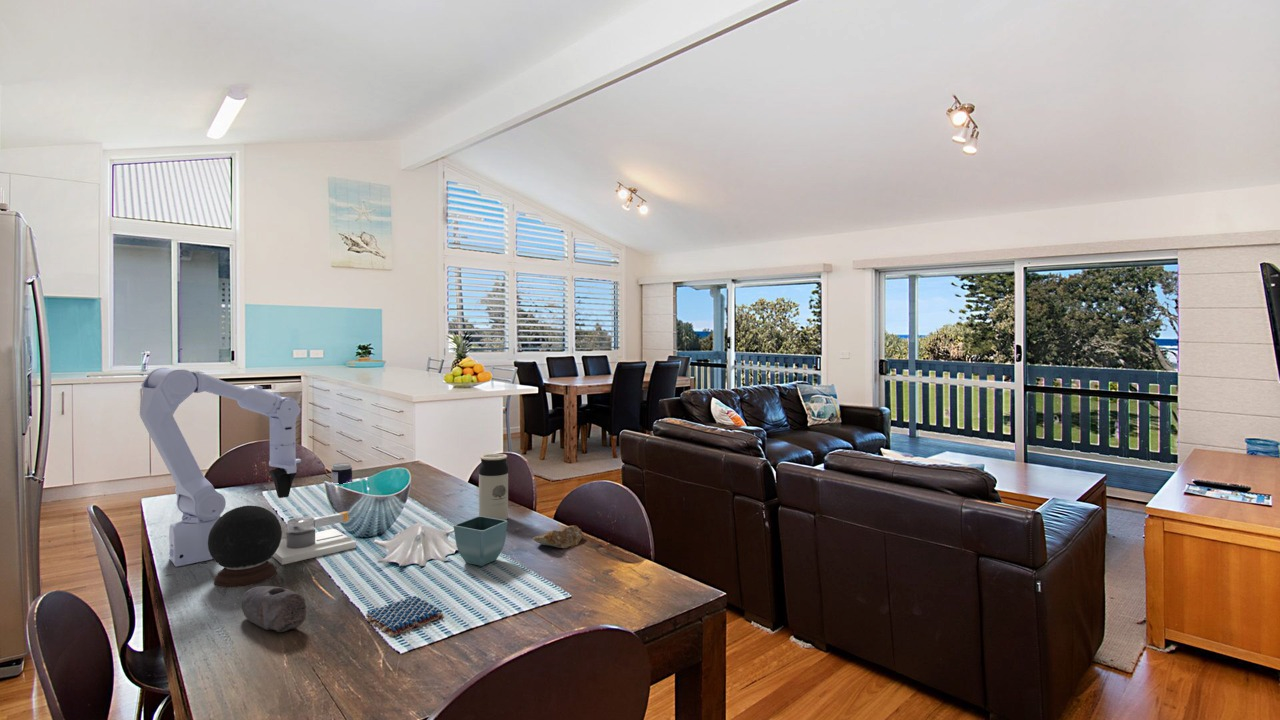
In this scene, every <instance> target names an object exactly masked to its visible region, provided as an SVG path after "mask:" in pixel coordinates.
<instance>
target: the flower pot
mask: <svg viewBox="0 0 1280 720" xmlns="http://www.w3.org/2000/svg"><path fill="white" fill-rule="evenodd" d="M507 528H508V520H507V519H506V520H502V519H495V518H489V517H484V516H479V515H478V516H475V517H473V518H469V519H467V520H464V521H461V522H459V523H456V524H454V525H453V531H454V538H455V543H456V544H455V545H456V548H457V551H458V553H459V555H460V556H461V559H463V561H464V562H465V563H466V564H471V565H475V566H476V565H477V566H479V567H483V566H485V565H488V564H490V563H491V562H494V561H496V560H497V559H498V558H499V556H500V554H501V553H502V551H503V549H504V546H505V543H506V536H507V530H508V529H507Z"/></svg>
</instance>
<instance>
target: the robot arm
mask: <svg viewBox="0 0 1280 720" xmlns="http://www.w3.org/2000/svg"><path fill="white" fill-rule="evenodd" d="M140 385H141V390H142V395H141V402H140V409H139V416H140V419H141V422H142V424H143V425H144V427H145V429H146V430H147V433H148V434H149V436H150V438H151V440H152V442H153V443H154V445H155V447H156V450H157V451H158V453H159V455H160V457H161V459H162V460H163V462H164V465H165V466H166V469H167V470H168V472H169V474H170V476H171V477H172V480H173V481H174V483H175V488H174V493H175V495H176V506H177V510H179V512H181V513H182V517H181V520H180V521H178V522H174V523H171V524H170V525H169V533H168V534H169V539H168V540H169V550H168V551H169V554H168V555H169V557H168V558H169V560H170V561H171V562H172V563H173V565H174V566H175V567H177V568H178V567H181V566H187V565H191V564H195V563H201V562H202V563H203V562H205V561H211V560H214V559H213V558H212V556H211V555H210V552H209V549H208V536H209V533H210V530H211V528H212V527H213V525H214V524H215V522H216V521H217V520H218V519H219V518H220V517H221V515H222V513H223V512H224V511H225V508H226V506H227V505H226V498H225V496H224V495H223V494H222V493H220V492H218V491H217V490H216V489H215V487H214V485H213V484H212V483H211V482H210V481H209V480H208V479H207V478H206V477H205V476H204V474H203V473H202V471H201V469H200V466H199V465H198V463H197V460H196V458H195V456H194V455H193V452H192V451H191V448H190V446H189V445H188V443H187V441H186V439H185V437H184V435H183V433H182V431H181V429H180V427H179V425H178V422H177V421H176V420H175V419H176V418H175V417H174V414H175V412H176V410H177V409H178V407H179V406H180V405H181V404H182V403H183V402H185V400H187V399H188V397H189V398H190V396H191V395H192V394H193V393H194V394H195V393H196V394H199V393H203V392H206V393H209V394H213V395H216V396H220V397H223V398H227V399H231V400H234V401H236V402H237V405H238V406H239V407H240V408H241V409H244V410H246V411H247V410H248V411H251V412H252V413H253V412H254V413H257V414H260V415H264V416H266V417H267V418H268V419H269V462H268V466H269V467H272V468H273V467H274V469H269V470H268V474H269V475H270V477H271V479H272V481H273V484H274V487H275V491H276V495H277V498H279V499H284V498H289V496H290V494H291V493H290V492H291V488H292V484H293V481H294V478H295V477H296V475H297V473H298V469H297V468H298V467H297V464H299V463H301V462H302V459H301V458H296V455H297V454H296V452H297V451H296V450H297V449H296V447H297V446H296V444H297V443H296V440H297V438H296V436H297V435H296V434H297V433H296V432H297V431H296V424H297V418H298V416H299V415H300V413H301V410H302V409H301V407H299V403H298V402H297V400H295V399H294V398H292V397H286V396H281V393H280V392H278V391H275V392H271V391H268V390H266V389H263V386H261V385H259V384H255V385H248V386H246V387H241V386H237V385H235V384H232V383H230V382H227V381H225V380H222V379H220V378H217V377H214V376H211V375H209V374H205V373H201V372H197V371H190V370H188V369H185V368H178V369H177V368H167V367H158V368H155V369H153V370H152V371H151V372H149V373H148V375H147V376H146V378H145V379H144V380H143V382H141V384H140Z"/></svg>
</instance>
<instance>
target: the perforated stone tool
mask: <svg viewBox="0 0 1280 720" xmlns="http://www.w3.org/2000/svg"><path fill="white" fill-rule="evenodd" d="M240 603H241V604H240V607H241V611H242V614H243V616H244V617H245V619H246V620H248V621H249V622H250V623H252V624H254V625H256V626H258V627H259V628H261V629H264V630H267V631H269V630H270V631H272V630H273V631H275V632H278V633H285V632H288V631H289V630H293V629H296V628H299V626H301V624H303V623H304V622H305V620H306V618H307V605H306V600H305V598H304V597H303V596H302V594H299V593H297V592H296V591H293V590H291V589H288V588H286V587H281V586H272V585H269V586H268V585H261V586H260V585H259V586H254V587H252V588H250V589H247V590H246V591H245V592H244V594H243V596H242V598H241V601H240Z"/></svg>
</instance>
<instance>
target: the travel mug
mask: <svg viewBox="0 0 1280 720" xmlns="http://www.w3.org/2000/svg"><path fill="white" fill-rule="evenodd" d="M479 459H480V461H481V463H480V465H479V467H478V516H484V517H489V518H495V519H502V520H506V521H507V519H508V518H509V466H508V464H507V462H506V461H507V459H508V455H507V454H505V453H487V454H485V453H484V454H482V455H480V456H479Z"/></svg>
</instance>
